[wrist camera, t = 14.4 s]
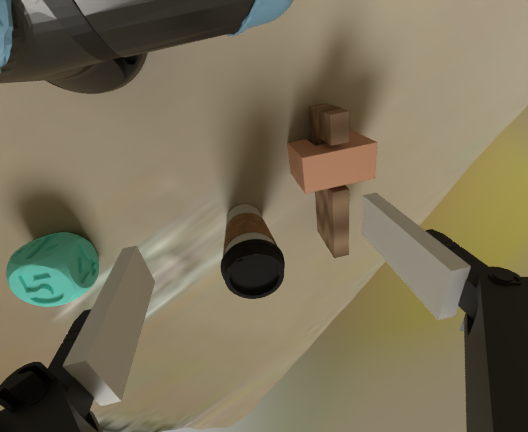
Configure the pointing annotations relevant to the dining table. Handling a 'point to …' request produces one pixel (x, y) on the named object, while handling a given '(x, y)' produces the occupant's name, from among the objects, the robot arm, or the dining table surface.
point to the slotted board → (337, 198)
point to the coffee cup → (250, 255)
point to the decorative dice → (53, 269)
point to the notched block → (332, 162)
